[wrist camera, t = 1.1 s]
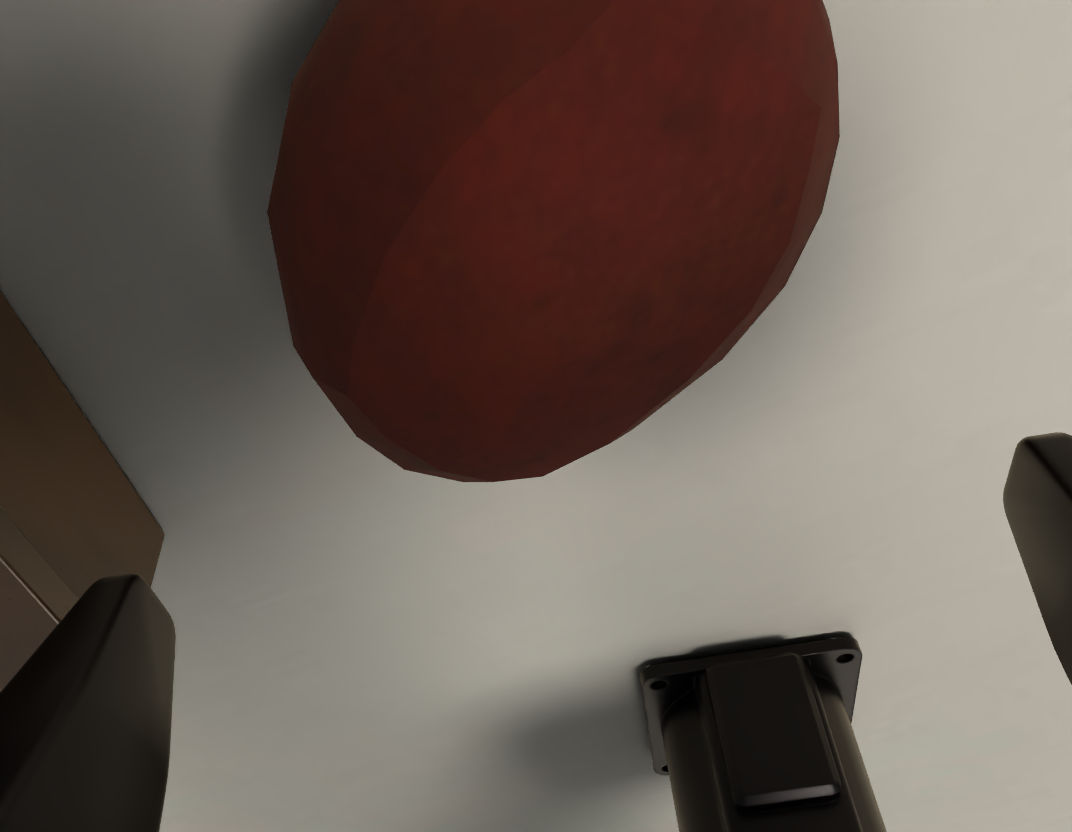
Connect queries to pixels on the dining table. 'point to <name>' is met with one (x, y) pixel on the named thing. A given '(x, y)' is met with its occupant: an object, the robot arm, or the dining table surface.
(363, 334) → the potato
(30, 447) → the walnut box
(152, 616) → the robot arm
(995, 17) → the dining table surface
